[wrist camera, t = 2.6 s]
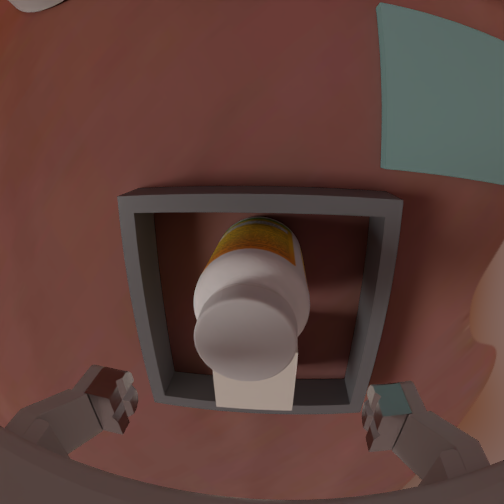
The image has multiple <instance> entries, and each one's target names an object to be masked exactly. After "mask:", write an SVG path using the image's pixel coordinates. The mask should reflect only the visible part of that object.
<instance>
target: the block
mask: <svg viewBox="0 0 504 504" xmlns="http://www.w3.org/2000/svg"><path fill="white" fill-rule="evenodd" d="M297 360H298V344H297V350H296V353H295V356H294V358H293V360H292V361H291V363H290V364H289V365H288V366H287V367H286V368H285V369H284V370H283V371H282V372H280V373H279V374H277V375H275V376H273V377H271V378H268V379H265V380H260V381H239V380H234V379H230V378H227V377H225V376H222V375H220V374H219V373H217V372H215V371H214V370H213V380H214V390H215V399H216V407H226V408H239V409H255V410H282V411H292V406H293V397H294V388H295V379H296V370H297Z"/></svg>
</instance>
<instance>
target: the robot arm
mask: <svg viewBox="0 0 504 504" xmlns="http://www.w3.org/2000/svg"><path fill="white" fill-rule="evenodd" d="M8 1H9V2H11V3H12V4H13V5H14V6H15V7H16V8H17V9H18V10H20V11H23V12H37V11H41V10H44V9H47V8H50V7H52V6H54V5H56V4H58V3H60V2H62V1H64V0H8ZM133 381H134V380H133V377H132V374H131V373H130V372H128V371H123V370H118V369H113V368H109V367H103V366H99V365H92V366H91V367H90V368H89V369H88V370H87V372H86V373H85V374H84V375H83V377H82V378H81V379H80V380H79V382H78V383H77V384H76V385H75V387H74V388H73V389H72V390H71V389H68V390H65V391H63V392H61V393H58V394H56V395H54V396H51V397H49V398H46V399H44V400H42V401H39V402H37V403H34V404H32V405H29V406H27V407H24V408H22V409H20V410H19V411H18V413H17V414H16V415H15V416H14V417H13V419H12V420H11V421H10V422H9V423H8V425H7V426H6V427H5V428H3V427H1V426H0V504H504V460H503V461H500V462H497V463H495V464H492V465H490V464H489V461H488V460H487V457H486V455H485V453H484V451H483V449H482V447H481V445H480V443H479V441H478V440H476V439H475V438H473V437H471V436H470V435H468V434H466V433H465V432H463V431H461V430H460V429H458V428H457V427H455V426H454V425H452V424H450V423H449V422H447V421H446V420H444V419H442V418H441V417H439V416H438V415H436V414H434V413H433V412H431V411H428V412H427V411H426V408H425V406H424V404H423V402H422V400H421V398H420V396H419V394H418V392H417V389H416V387H415V385H414V383H413V382H412V381H405V382H398V383H387V384H375V385H370V386H369V388H368V391H367V396H368V400H367V401H366V402H364V405H363V409H362V424H363V428H364V429H365V430H366V431H368V432H367V435H366V442H367V446H368V450H369V452H374V451H384V450H392V451H393V452H394V453H395V454H396V455H397V456H398V457H399V458H400V459H401V460H402V461H403V462H404V463H405V464H406V465H407V466H408V467H409V468H410V469H411V470H412V471H413V472H414V473H415V474H417V475H418V476H419V477H420V478H421V479H422V481H421V483H420V484H419V485H418V487H413V488H408V489H403V490H398V491H392V492H386V493H380V494H373V495H365V496H356V497H346V498H334V499H316V500H265V499H248V498H235V497H225V496H217V495H209V494H202V493H195V492H189V491H183V490H178V489H173V488H168V487H163V486H158V485H154V484H150V483H145V482H141V481H137V480H134V479H130V478H126V477H123V476H119V475H116V474H113V473H109V472H106V471H103V470H100V469H97V468H94V467H91V466H88V465H85V464H83V463H80V462H77V461H75V460H72V459H70V457H69V456H68V454H69V453H70V452H72V451H73V450H75V449H76V448H78V447H79V446H81V445H82V444H84V443H85V442H87V441H88V440H90V439H91V438H93V437H94V436H96V435H97V434H99V433H100V432H102V431H103V430H105V431H110V432H114V433H118V434H124V432H125V430H126V428H127V426H128V424H129V419H128V417H129V416H131V415H132V414H134V413H135V411H136V408H137V404H138V394H137V390H136V389H135V388H134V387H133V386H132V385H131V384H132V383H133Z"/></svg>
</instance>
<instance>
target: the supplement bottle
mask: <svg viewBox="0 0 504 504" xmlns="http://www.w3.org/2000/svg"><path fill="white" fill-rule="evenodd" d="M309 311H310V296H309V290H308V284H307V279H306V273H305V267H304V262H303V256H302V251H301V247H300V245H299V242H298V240H297V238H296V236H295V235H294V233H293V232H292V231H291V230H290V229H289V228H288V227H287V226H285V225H284V224H283V223H281V222H279V221H277V220H275V219H272V218H268V217H260V216H258V217H250V218H246V219H243V220H241V221H239V222H237V223H235V224H234V225H233V226H231V227H230V228H229V229H228V230H227V231H226V233H225V234H224V235H223V237H222V238H221V240H220V242H219V244H218V246H217V247H216V249H215V251H214V253H213V254H212V256H211V258H210V260H209V262H208V263H207V265H206V267H205V269H204V270H203V272H202V274H201V276H200V278H199V280H198V282H197V285H196V288H195V292H194V312H195V316H196V319H197V322H196V325H195V328H194V343H195V347H196V349H197V352H198V354H199V356H200V357H201V359H202V360H203V361H204V362H205V363H206V364H207V365H208V366H209V367H210V368H211V369H212V370H214V371H215V372H217V373H219V374H220V375H222V376H225V377H227V378H230V379H234V380H239V381H260V380H265V379H268V378H271V377H273V376H275V375H277V374H279V373H280V372H282V371H283V370H284V369H285V368H286V367H287V366H288V365H289V364H290V363H291V361H292V360H293V358H294V356H295V353H296V350H297V344H298V339H297V337H298V336H299V335H300V334H301V332H302V331H303V329H304V327H305V325H306V323H307V320H308V317H309Z"/></svg>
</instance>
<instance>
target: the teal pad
mask: <svg viewBox="0 0 504 504" xmlns="http://www.w3.org/2000/svg"><path fill="white" fill-rule="evenodd" d="M376 13H377V22H378V33H379V46H380V62H381V87H382V142H381V168H384V169H392V170H402V171H412V172H420V173H429V174H437V175H444V176H451V177H458V178H465V179H471V180H478V181H484V182H489V183H495V184H501V185H504V41H502V40H500V39H497V38H495V37H493V36H490V35H488V34H486V33H483V32H481V31H478V30H476V29H473V28H470V27H468V26H465V25H462V24H459V23H456V22H453V21H450V20H447V19H444V18H441V17H438V16H434V15H431V14H428V13H424V12H420V11H416V10H412V9H408V8H404V7H400V6H395V5H391V4H386V3H381V2H380V3H379V5H378V6H377V7H376Z"/></svg>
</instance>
